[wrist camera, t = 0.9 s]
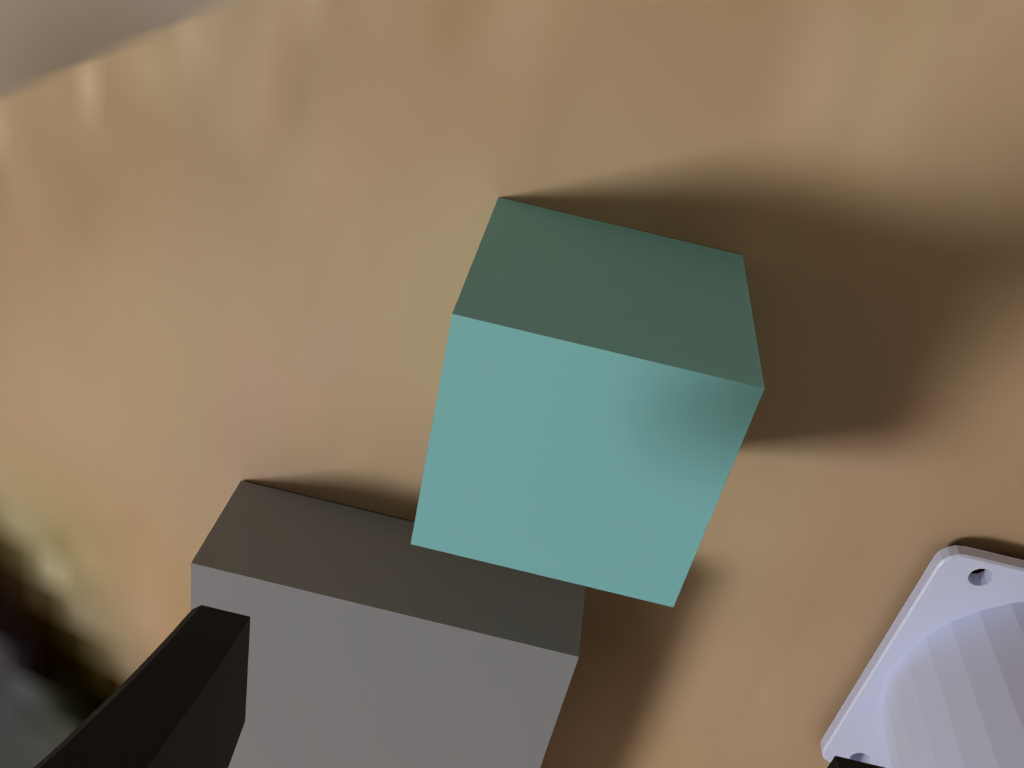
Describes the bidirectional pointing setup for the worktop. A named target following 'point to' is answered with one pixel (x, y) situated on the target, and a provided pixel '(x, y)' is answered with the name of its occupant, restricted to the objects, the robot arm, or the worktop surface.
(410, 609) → the base slab
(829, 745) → the robot arm
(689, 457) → the teal cube
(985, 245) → the worktop surface
